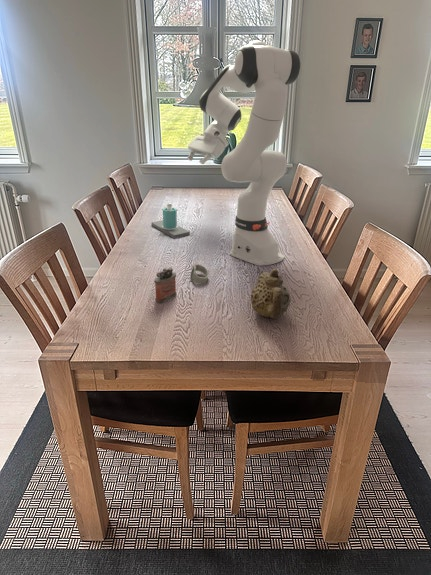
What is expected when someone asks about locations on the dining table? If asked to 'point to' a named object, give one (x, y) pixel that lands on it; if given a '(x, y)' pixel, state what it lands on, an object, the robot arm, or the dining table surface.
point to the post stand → (173, 232)
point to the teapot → (270, 295)
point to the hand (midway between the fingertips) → (195, 161)
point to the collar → (170, 218)
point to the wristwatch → (197, 278)
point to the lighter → (165, 285)
